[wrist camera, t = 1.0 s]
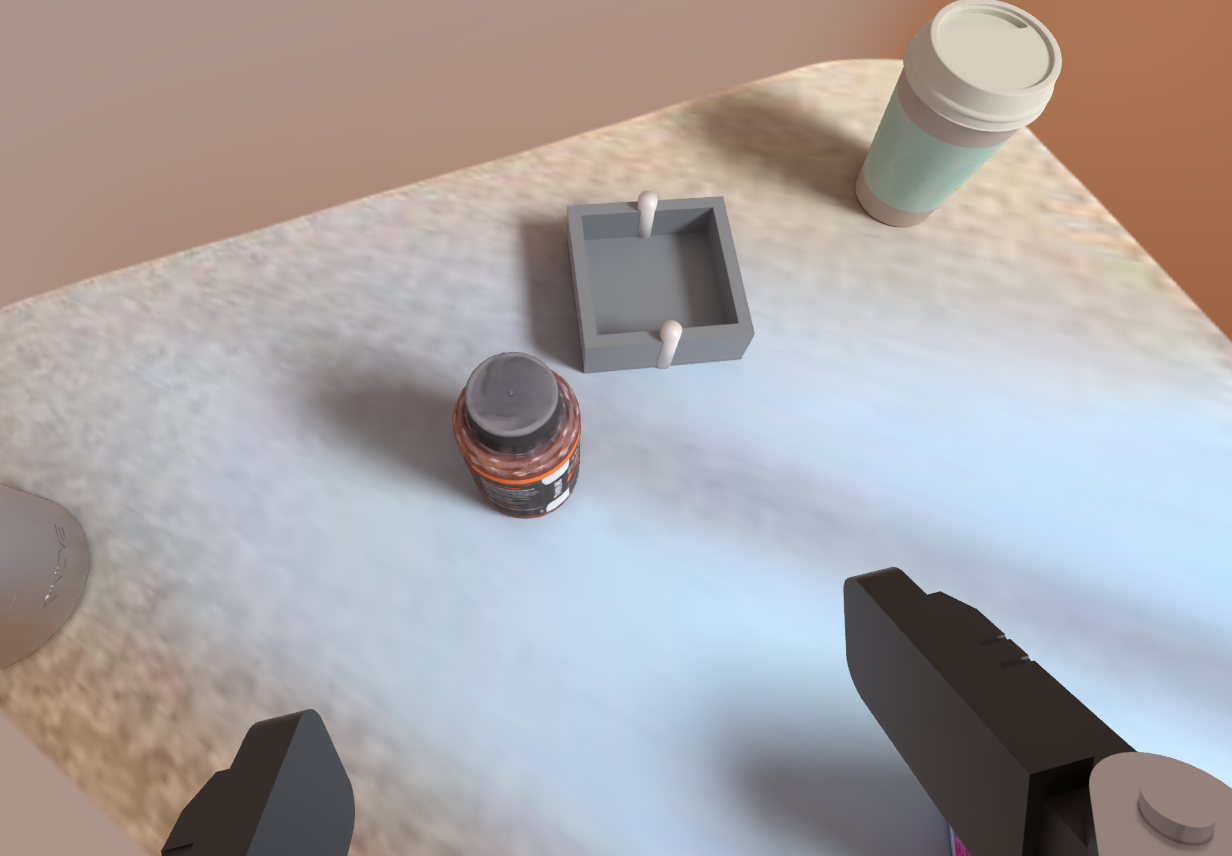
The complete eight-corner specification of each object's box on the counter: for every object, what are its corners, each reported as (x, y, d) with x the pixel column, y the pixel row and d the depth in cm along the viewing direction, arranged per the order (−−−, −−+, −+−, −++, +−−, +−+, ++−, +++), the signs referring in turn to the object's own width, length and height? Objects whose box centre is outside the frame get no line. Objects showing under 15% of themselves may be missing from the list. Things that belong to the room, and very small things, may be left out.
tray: (584, 376, 40) (585, 346, 36) (567, 236, 43) (566, 195, 40) (741, 361, 41) (758, 331, 37) (711, 226, 44) (724, 186, 41)
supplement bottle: (590, 507, 37) (597, 443, 26) (488, 532, 36) (453, 477, 25) (566, 414, 39) (564, 319, 28) (468, 435, 38) (428, 346, 27)
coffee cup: (966, 180, 47) (1089, 30, 36) (928, 263, 45) (1048, 127, 33) (861, 131, 48) (949, -30, 37) (817, 208, 46) (898, 59, 34)
